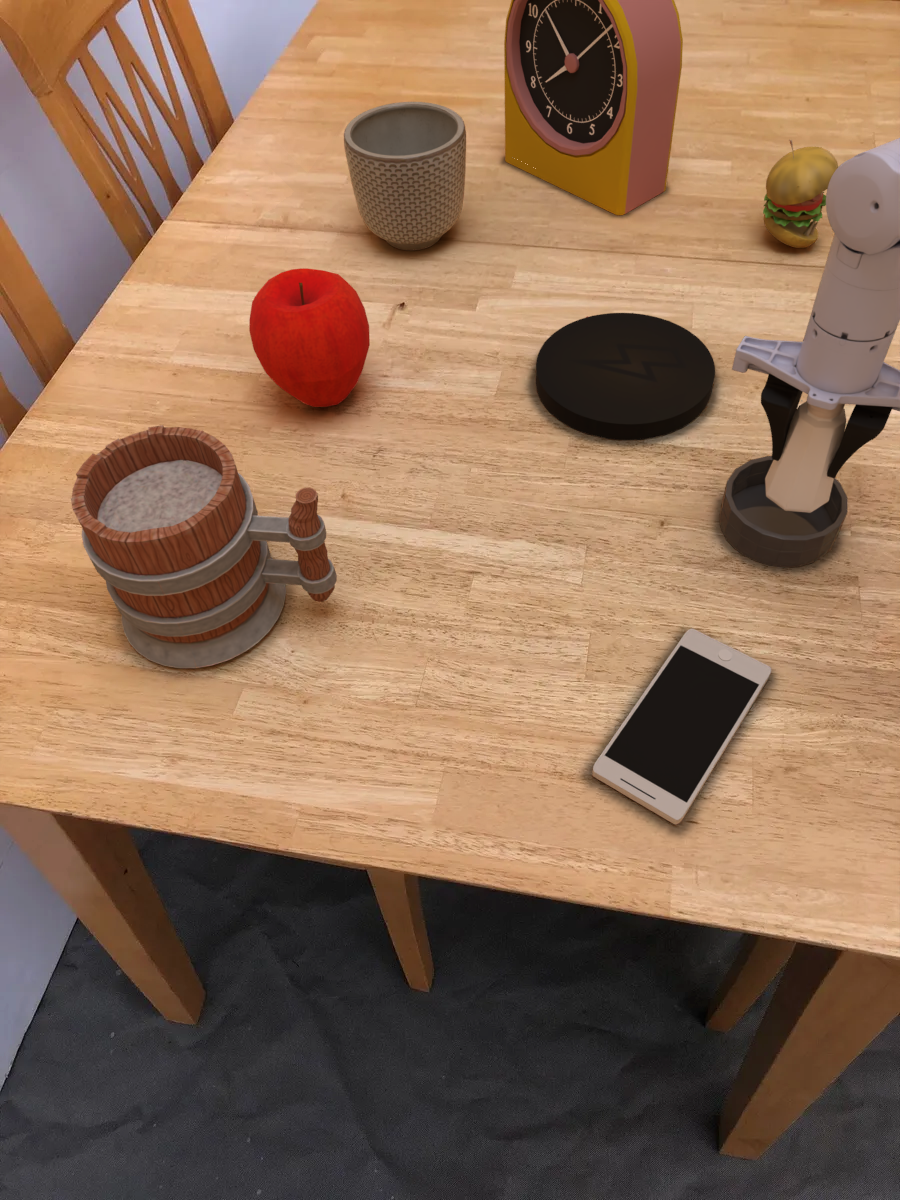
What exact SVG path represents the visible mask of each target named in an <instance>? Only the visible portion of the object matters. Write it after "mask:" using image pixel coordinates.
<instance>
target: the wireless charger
mask: <svg viewBox="0 0 900 1200" xmlns="http://www.w3.org/2000/svg"><path fill="white" fill-rule="evenodd" d="M715 377H716V365H715V361H714V358H713V355H712V353H711V352H710V350H709V348H708V347H707V346H706V344H705V343H704V342H703V341H702V340H701V339H700V338H699V337H698V336H696V334H695V333H693V332H691V331H690V330H689V329H687V328H685V327H683V326H681V325H679V324H677V323H675V322H672V321H670V320H667V319H664V318H661V317H657V316H653V315H649V314H643V313H634V312H609V313H602V314H594V315H589V316H587V317H583V318H579V319H577V320H574V321H572V322H570V323H568V324H565V325H564V326H562V327H560V328H559V329H557V330H556V331H555V332H553V333H552V334H551V335H550V336H549V337H548V338H547V339H546V340H545V342H544V343H543V344H542V345H541V347H540V349H539V352H538V354H537V357H536V362H535V388H536V393H537V395H538V398H539V399H540V401H541V403H542V406H544V407H545V409H546V410H547V411H548V412H549V413H550V414H551V415H552V416H553V417H554V418H555V419H556V420H558V421H559V422H560V423H563V424H564V425H566V426H567V427H570V428H571V429H573V430H576V431H578V432H581V433H583V434H585V435H586V434H587V435H589V436H593V437H598V438H601V439H607V440H614V441H615V440H616V441H639V440H648V439H654V438H658V437H663V436H666V435H669V434H672V433H674V432H676V431H679V430H681V429H682V428H684V427H687V426H688V425H689V424H691V423H692V422H693V421H695V420H696V419H697V418H698V417H699V416H700V415H702V413H703V412H704V410H705V409H706V407H707V406H708V404H709V403H710V399H711V397H712V391H713V388H714V387H713V386H714V383H715Z"/></svg>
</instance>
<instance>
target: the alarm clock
mask: <svg viewBox="0 0 900 1200" xmlns="http://www.w3.org/2000/svg"><path fill="white" fill-rule="evenodd" d="M680 19H681V18H680V14H679V11H678V7H677V4H676V1H675V0H511V1H510V4H509V7H508V12H507V15H506V19H505V26H504V27H505V29H504V40H503V42H504V44H503V51H504V52H503V53H504V54H503V55H504V61H503V64H504V66H503V67H504V161H505V162H506V163H508V164H510V165H511V166H514V167H515V168H518V169H520V170H522V171H524V172H526V173H528V174H530V175H532V176H534V177H536V178H539V179H540V180H542V181H545V182H547V183H549V184H551V185H553V186H555V187H557V188H559V189H560V190H563V191H566V192H568V193H569V194H571V195H574V196H576V197H578V198H580V199H581V200H585V201H586V202H588V203H590V204H592V205H595V206H597V207H598V208H601V209H603V210H604V211H607V212H609V213H611V214H614V215H615V216H624V215H626V214H628V213H629V212H632V211H633V210H635V209H636V208H638V207H640V206H642V205H643V204H646V203H647V202H649V201H650V200H652V199H653V198H655V197H657V196H658V195H660V194H662V193H664V192H665V191H666V187H667V181H668V173H669V166H670V159H671V150H672V142H673V135H674V130H675V129H674V128H675V121H676V113H677V106H678V99H679V90H680V84H681V76H682V68H683V46H684V39H683V33H682V32H683V31H682V26H681V20H680ZM512 157H513V158H512ZM514 158H515V159H514ZM517 159H518V160H517ZM521 161H522V162H521ZM525 163H526V164H525ZM527 164H528V165H527ZM533 167H534V168H533ZM535 168H536V169H535Z"/></svg>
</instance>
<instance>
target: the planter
mask: <svg viewBox="0 0 900 1200" xmlns="http://www.w3.org/2000/svg"><path fill="white" fill-rule="evenodd" d="M343 146H344V153H345V159H346V162H347V163H346V164H347V167H348V172H349V178H350V182H351V186H352V190H353V195H354V199H355V202H356V205H357V209H358V212H359V215H360V217H361V219H362V221H363V223H364V225H365V226H366V227H367V228H368V230H369V231H370V232H372V233H373V234H374V235H375V236H377V237H378V238H380V239H382V240H383V241H386V243H387V244H388V245H390V246H391V247H393V248H395V249H398V250H402V251H410V252H411V251H420V250H425V249H427V248H430V247H432V246H433V245H435V244H437V243H438V242H439V241H440V239H441V238H442V236H443V235H444V234H446V233H447V232H449V231H450V230H451V229H452V228H453V227H454V225H455V224H456V223H457V221H458V220H459V217H460V215H461V212H462V209H463V204H464V198H465V186H466V185H465V184H466V168H467V167H466V165H467V130H466V125H465V121H464V120H463V118H462V117H461V115H460V114H459V113H458V112H456V111H454V110H453V109H451V108H449V107H447V106H445V105H441V104H437V103H433V102H425V101H401V102H392V103H386V104H383V105H378V106H376V107H373V108H369V109H367V110H365V111H362V112H361V113H360V114H358V115H356V116H355V117H354V118H353V119H351V120H350V121H349V122H348V124H347V125H346V127H345V128H344V132H343Z"/></svg>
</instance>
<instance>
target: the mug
mask: <svg viewBox="0 0 900 1200" xmlns="http://www.w3.org/2000/svg"><path fill="white" fill-rule="evenodd" d="M75 476H76V479H75V482H74V485H73V488H72V491H71V492H72V493H71V497H70V502H71V508H72V511H73V513H74V514H75V516H76V518H77V520H78V523H79V524H80V526H81V538H82V545H83V548H84V550H85V552H86V554H87V556H88V558H89V560H90V562H91V563H92V565H93V567H94V568H95V571H96V572H97V573H98V575H100V576H101V578H102V579H103V580H104V581H105V585H106V591H107V592H108V594H109V596H110V598H111V600H112V602H113V604H114V605H115V607H116V609H117V610H118V612H119V614H120V615H121V625H122V630H123V633H124V635H125V637H126V639H127V641H128V643H129V644H130V646H132V648H133V649H134V650H135V651H136V652H137V653H138V654H139V655H141V656H143V657H144V658H145V659H147V660H148V661H151V662H153V663H156V664H159V665H161V666H164V667H170V668H175V669H199V668H205V667H210V666H214V665H219V664H220V663H221V664H222V663H225V662H227V661H230V660H232V659H234V658H235V657H238V656H240V655H242V654H244V653H245V652H247V651H248V650H250V649H252V648H253V647H254V646H255V645H256V644H258V643H260V641H262V639H263V638H264V637H265V636H266V635H267V634H269V633H270V631H272V629H273V627H274V625H275V624H276V622H277V621H278V620H279V618H280V616H281V613H282V611H283V608H284V605H285V600H286V596H287V595H286V594H287V591H286V590H287V589H286V585H287V586H288V585H290V586H301V588H302V589H303V590H304V591H305V592H307V594H308V596H309V597H310V598H311V599H312V601H314V602H316V603H323V602H325V601H327V600H328V599H329V598H330V597H331V595H332V594H333V592H334V590H335V588H336V583H337V581H338V579H337V578H338V574H337V572H336V568H335V566H334V564H333V561H332V560H331V559H330V558H329V556H328V548H327V545H326V542H325V541H326V540H327V529H326V525H325V521H324V519H323V518H322V516H320V515H319V514H318V504H319V495H318V492H317V490H315V488H313V487H303V488H300V489H299V490H297V492H296V493H295V496H294V497H295V501H294V503H293V504H292V507H291V508H290V514H289V516H269V515H258V509H257V506H256V503H255V499H254V496H253V493H252V490H251V487H250V485H249V484H248V482H247V480H246V479H245V478H244V476H243V475H242V474H240V473H239V471H238V468H237V465H236V462H235V459H234V456H233V454H232V451H230V450H229V448H228V447H227V446H226V444H225V443H223V442H222V441H220V440H219V439H218V438H217V437H216V436H213V435H212V434H210V433H208V432H206V431H203V430H200V429H197V428H191V427H182V426H164V424H160V425H155V426H148V427H147V430H143V431H138V432H135V433H132V434H130V435H128V436H124V437H123V438H119V437H118V438H117V439H114V440H113V441H111V442H109V443H108V444H106V445H105V448H103V449H101V450H100V452H98V453H96V454H95V453H92V454H91V455H90V456H88V458H86V460H84V462H83V463H82V464H81V466H80V468H79V469H78V470H77V471H76V473H75ZM268 542H271V543H272V542H273V543H289V544H290V547H292V548H294V550H295V552H296V554H297V560H293V559H292V560H291V559H278V558H273V557H272V554H271V550H270V547H269V543H268Z"/></svg>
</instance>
